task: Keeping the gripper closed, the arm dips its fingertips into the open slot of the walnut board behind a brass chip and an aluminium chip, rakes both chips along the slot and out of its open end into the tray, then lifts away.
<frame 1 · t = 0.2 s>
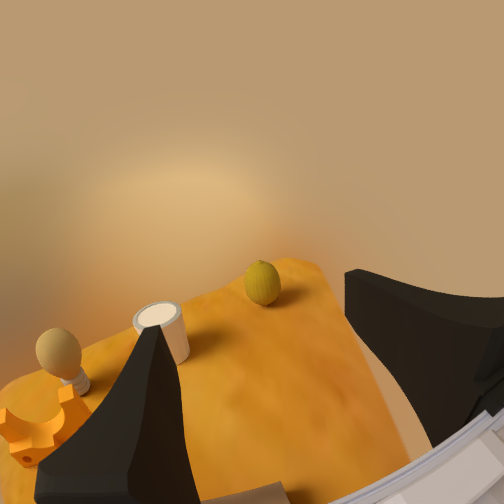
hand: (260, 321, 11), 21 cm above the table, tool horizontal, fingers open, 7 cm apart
white cup: (171, 355, 42), on the table
lemon: (266, 306, 51), on the table
light bulb: (81, 390, 36), on the table
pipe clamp: (60, 445, 27), on the table
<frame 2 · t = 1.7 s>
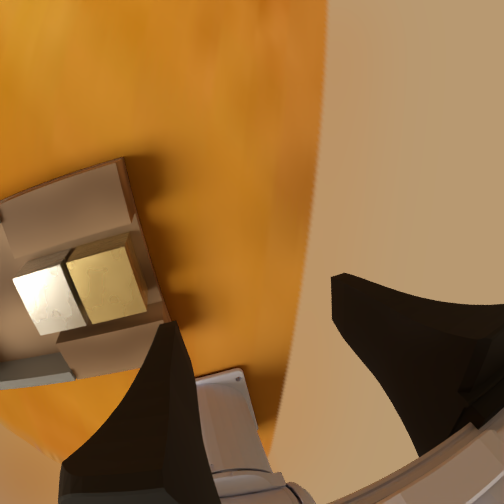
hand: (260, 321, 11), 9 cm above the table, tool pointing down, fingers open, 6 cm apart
slot board: (149, 254, 19), on the table
brass chip: (112, 268, 18), point 1 cm above the table, touching slot board
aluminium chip: (59, 283, 17), point 1 cm above the table, touching slot board
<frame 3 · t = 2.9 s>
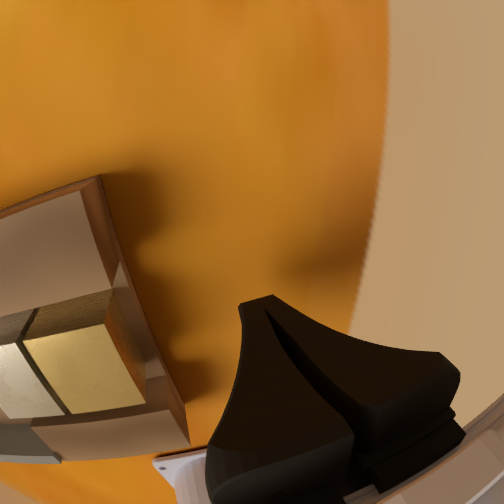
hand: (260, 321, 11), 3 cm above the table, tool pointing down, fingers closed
slot board: (144, 314, 13), on the table
brass chip: (93, 336, 12), point 1 cm above the table, touching slot board
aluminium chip: (26, 350, 11), point 1 cm above the table, touching slot board
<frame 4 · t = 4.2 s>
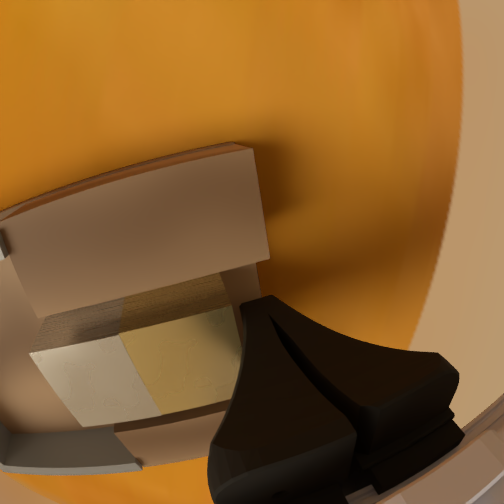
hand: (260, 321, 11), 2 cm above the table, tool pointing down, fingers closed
slot board: (257, 294, 13), on the table
brass chip: (185, 325, 12), point 1 cm above the table, touching gripper
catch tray: (6, 363, 10), resting on slot board
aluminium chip: (104, 344, 11), point 1 cm above the table, touching slot board
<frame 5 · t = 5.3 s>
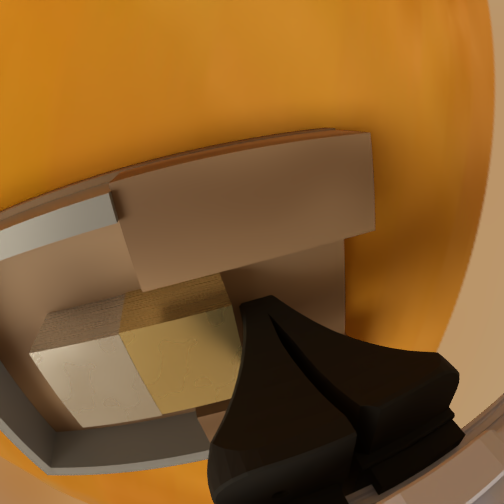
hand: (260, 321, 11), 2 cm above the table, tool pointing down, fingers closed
slot board: (336, 271, 14), on the table
brass chip: (185, 325, 12), point 1 cm above the table, touching gripper, slot board
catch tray: (66, 352, 11), resting on slot board
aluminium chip: (104, 345, 11), point 1 cm above the table
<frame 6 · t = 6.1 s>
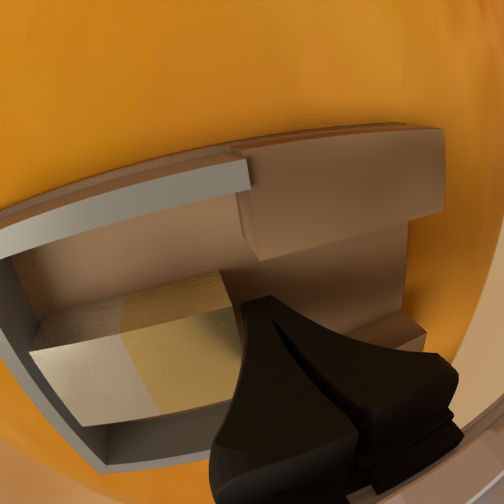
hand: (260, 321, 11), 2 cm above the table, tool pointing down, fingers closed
slot board: (396, 252, 14), on the table
brass chip: (185, 325, 12), point 1 cm above the table, touching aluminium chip, gripper, slot board
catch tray: (139, 336, 12), resting on slot board
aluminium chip: (103, 344, 11), point 1 cm above the table, touching brass chip, slot board
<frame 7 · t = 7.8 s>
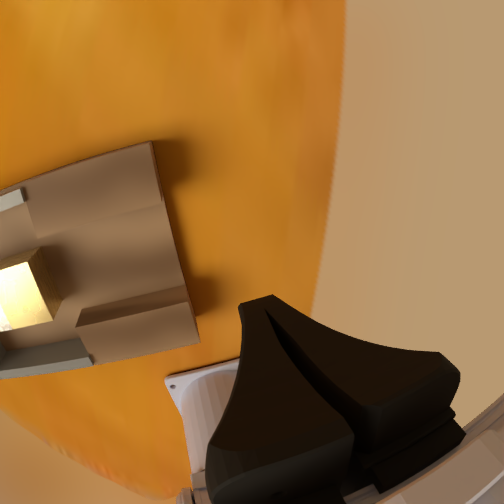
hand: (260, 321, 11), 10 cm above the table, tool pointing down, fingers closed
slot board: (173, 237, 20), on the table
brass chip: (31, 279, 17), point 1 cm above the table, touching slot board
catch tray: (11, 285, 17), resting on slot board
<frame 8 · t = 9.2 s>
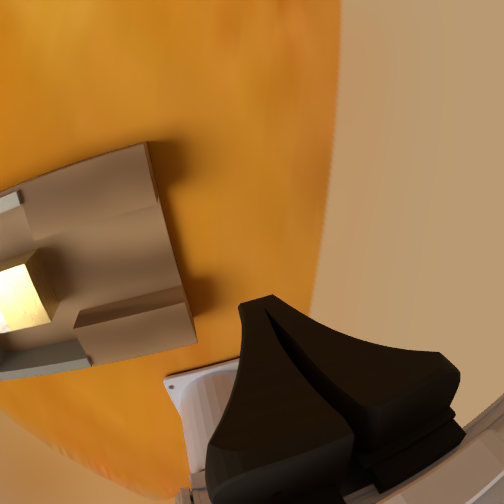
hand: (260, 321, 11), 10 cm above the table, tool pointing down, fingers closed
slot board: (169, 238, 20), on the table
brass chip: (29, 281, 17), point 1 cm above the table, touching slot board
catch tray: (9, 287, 17), resting on slot board
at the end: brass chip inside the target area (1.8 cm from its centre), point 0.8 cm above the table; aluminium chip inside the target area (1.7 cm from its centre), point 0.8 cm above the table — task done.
